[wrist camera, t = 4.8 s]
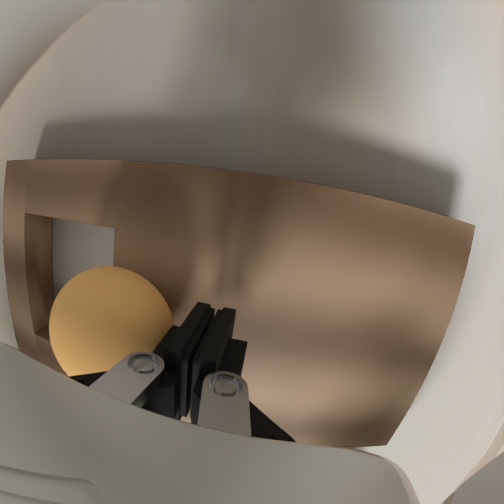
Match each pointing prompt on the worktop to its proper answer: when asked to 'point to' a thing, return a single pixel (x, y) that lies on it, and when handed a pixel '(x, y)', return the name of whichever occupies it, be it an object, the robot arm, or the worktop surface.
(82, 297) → the ball
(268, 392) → the board
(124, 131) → the worktop surface
